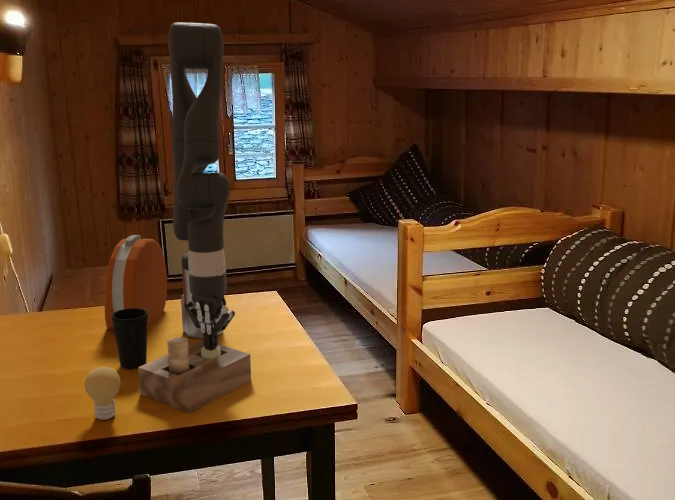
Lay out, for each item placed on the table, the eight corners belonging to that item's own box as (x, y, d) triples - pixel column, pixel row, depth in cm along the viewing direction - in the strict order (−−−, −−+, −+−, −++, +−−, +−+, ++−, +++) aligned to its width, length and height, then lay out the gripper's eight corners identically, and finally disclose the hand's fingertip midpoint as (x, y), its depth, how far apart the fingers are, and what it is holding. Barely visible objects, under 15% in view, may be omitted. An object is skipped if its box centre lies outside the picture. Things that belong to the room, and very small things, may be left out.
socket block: (140, 394, 144) (138, 367, 142) (204, 364, 158) (202, 339, 157) (188, 413, 136) (186, 384, 135) (251, 380, 151) (250, 354, 149)
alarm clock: (135, 305, 197) (129, 225, 191) (169, 306, 195) (164, 227, 190) (99, 334, 176) (91, 246, 170) (136, 336, 174) (130, 247, 168)
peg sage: (198, 379, 150) (197, 349, 149) (212, 372, 153) (210, 343, 152) (212, 384, 148) (210, 354, 146) (225, 377, 151) (224, 347, 149)
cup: (157, 360, 161) (154, 310, 158) (138, 373, 154) (134, 321, 151) (129, 355, 163) (125, 306, 160) (108, 368, 156) (104, 317, 153)
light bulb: (92, 409, 138) (88, 361, 135) (126, 408, 138) (122, 360, 136) (84, 425, 132) (79, 376, 129) (119, 424, 132) (115, 375, 130)
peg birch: (165, 373, 142) (162, 341, 140) (179, 366, 145) (178, 335, 143) (178, 378, 140) (176, 346, 138) (193, 371, 143) (192, 340, 141)
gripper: (170, 268, 145) (175, 347, 150) (217, 279, 138) (221, 362, 142) (197, 260, 151) (201, 336, 156) (243, 270, 144) (246, 350, 148)
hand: (211, 348), depth 149 cm, fingers closed
